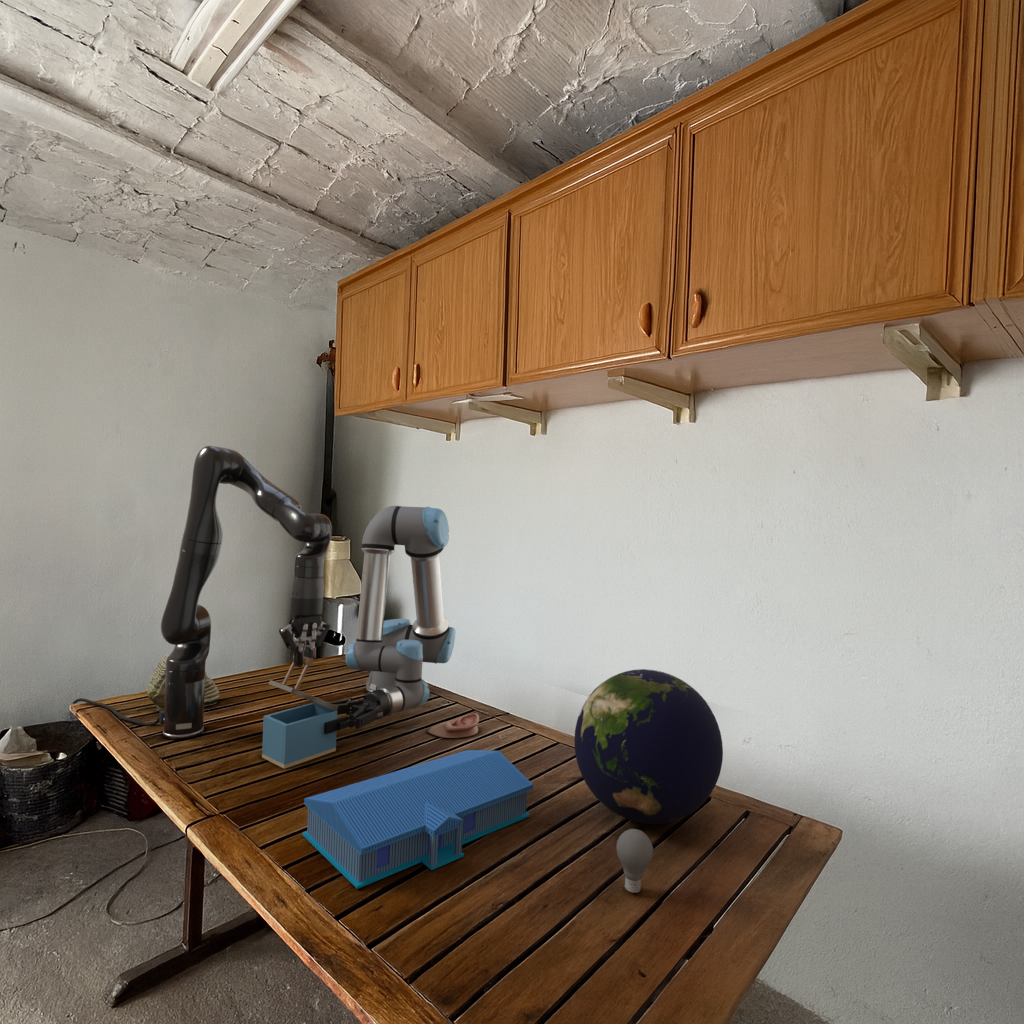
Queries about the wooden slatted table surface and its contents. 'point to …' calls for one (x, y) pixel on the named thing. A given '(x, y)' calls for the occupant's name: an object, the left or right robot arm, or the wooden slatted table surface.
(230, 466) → the left robot arm
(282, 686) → the lid
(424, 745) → the wooden slatted table surface
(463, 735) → the anatomical model
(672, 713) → the globe
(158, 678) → the fossil
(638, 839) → the light bulb
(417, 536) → the right robot arm
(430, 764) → the model building
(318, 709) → the chest
